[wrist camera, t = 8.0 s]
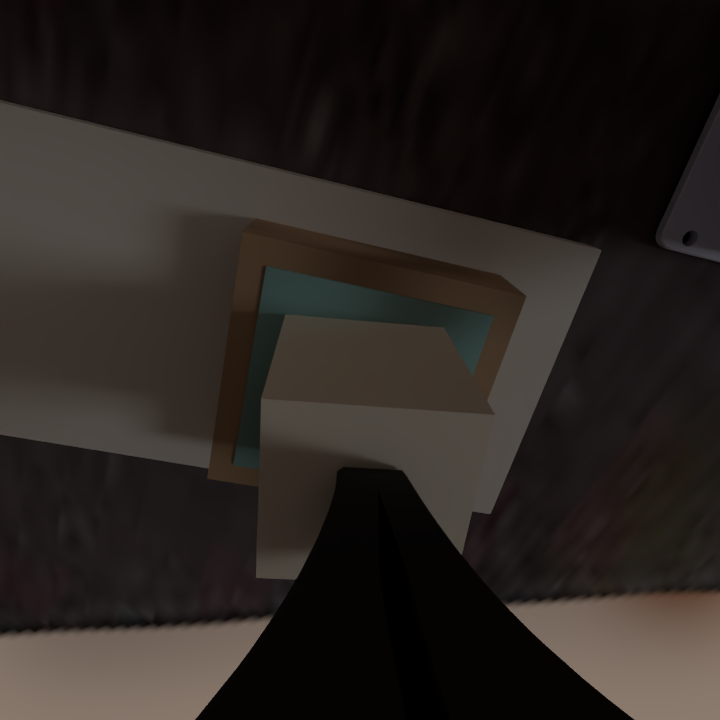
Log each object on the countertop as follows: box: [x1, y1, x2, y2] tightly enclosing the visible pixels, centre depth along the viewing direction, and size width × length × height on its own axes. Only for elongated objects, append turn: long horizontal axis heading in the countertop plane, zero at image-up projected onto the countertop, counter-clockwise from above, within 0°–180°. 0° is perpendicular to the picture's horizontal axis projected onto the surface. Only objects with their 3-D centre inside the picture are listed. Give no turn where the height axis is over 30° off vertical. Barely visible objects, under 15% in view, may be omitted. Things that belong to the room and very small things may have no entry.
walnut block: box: [207, 218, 526, 487], centre depth 16 cm, size 8×8×3 cm
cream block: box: [256, 314, 495, 579], centre depth 13 cm, size 4×4×5 cm
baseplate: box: [0, 100, 602, 514], centre depth 17 cm, size 20×11×1 cm, turn 77°
